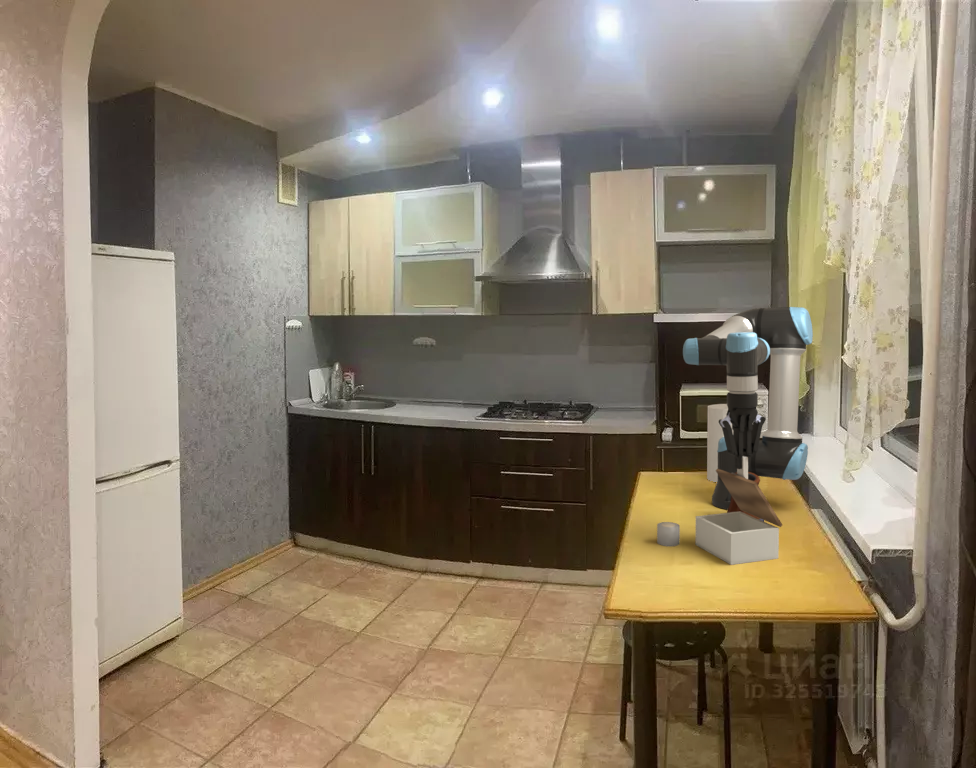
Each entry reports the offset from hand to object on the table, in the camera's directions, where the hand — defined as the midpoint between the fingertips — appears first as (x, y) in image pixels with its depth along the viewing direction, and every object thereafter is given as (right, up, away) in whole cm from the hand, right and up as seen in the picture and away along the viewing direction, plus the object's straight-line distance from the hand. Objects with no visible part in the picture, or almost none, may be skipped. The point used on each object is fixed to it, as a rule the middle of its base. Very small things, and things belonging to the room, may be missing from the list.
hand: (742, 480), depth 177 cm
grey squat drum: (-17, -19, +10) cm, 27 cm away
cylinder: (+25, -11, +79) cm, 83 cm away
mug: (+9, -17, +23) cm, 30 cm away
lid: (+2, -5, +1) cm, 5 cm away
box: (-1, -19, +1) cm, 19 cm away
